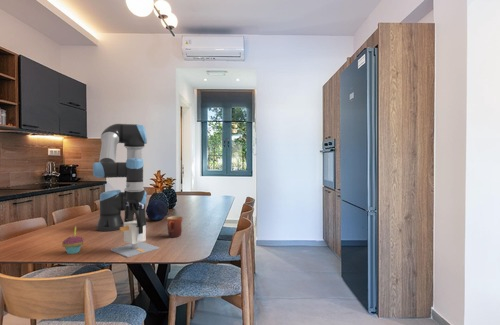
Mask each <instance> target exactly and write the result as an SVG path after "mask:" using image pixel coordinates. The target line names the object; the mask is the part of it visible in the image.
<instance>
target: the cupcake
mask: <svg viewBox="0 0 500 325" xmlns="http://www.w3.org/2000/svg"><path fill="white" fill-rule="evenodd" d="M76 235H77V225H75V226H74V233H73V236H69V237H68V238H66V239H64V240H63V241H62V244H61V245H62V247H63V248H64V249H65V251H66V254H69V255H73V254H77V253H79V252H80V250H81V247H82V245H84V243H85V241H84V239H83V237H80V236H76Z"/></svg>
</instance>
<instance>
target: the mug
mask: <svg viewBox="0 0 500 325" xmlns="http://www.w3.org/2000/svg"><path fill="white" fill-rule="evenodd" d="M183 219H184V217H183V216H179V215H178V216H177V215H175V216H174V215H173V216H168V217H166V220H167V234H168V237H170V238H179V237H181V236H182V232H183V231H182V230H183V229H182V228H183V227H182V226H183V225H182V222H183Z"/></svg>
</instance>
